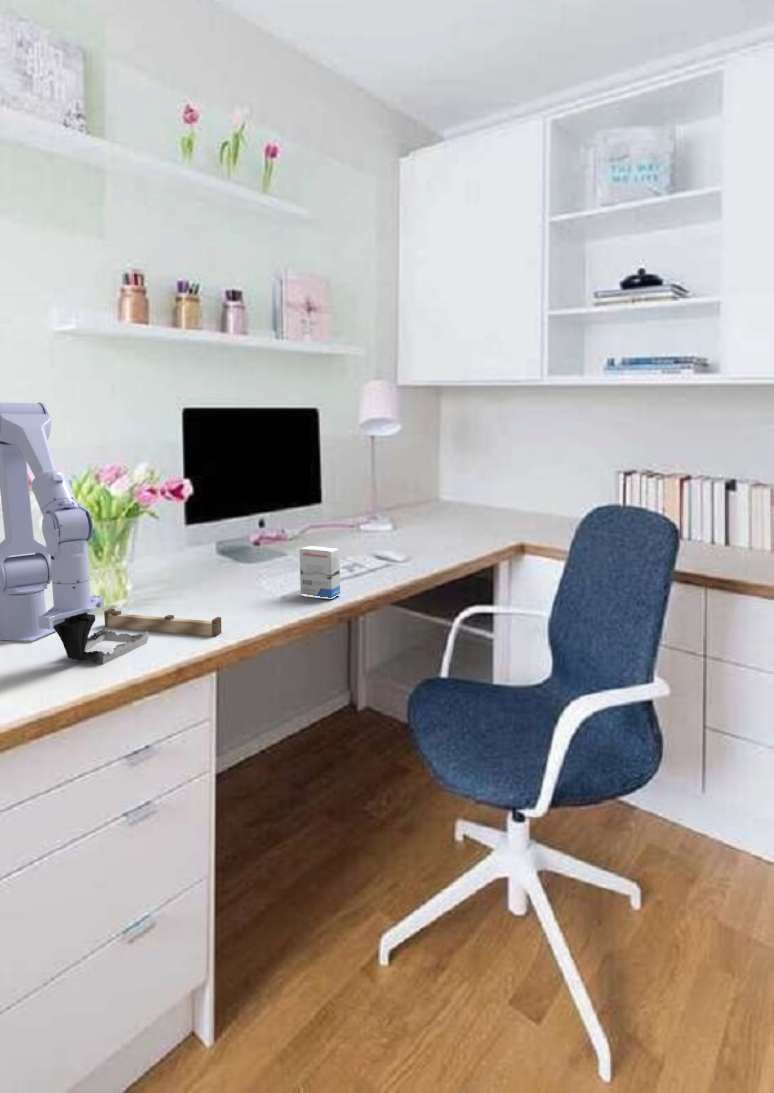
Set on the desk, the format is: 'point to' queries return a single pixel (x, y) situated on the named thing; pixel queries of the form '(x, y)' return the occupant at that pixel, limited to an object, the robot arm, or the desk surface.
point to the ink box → (320, 571)
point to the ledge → (162, 623)
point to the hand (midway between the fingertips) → (75, 658)
